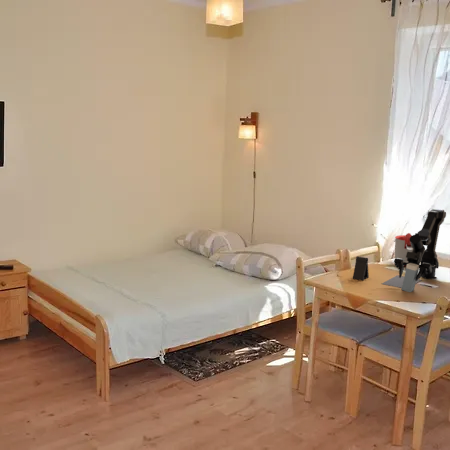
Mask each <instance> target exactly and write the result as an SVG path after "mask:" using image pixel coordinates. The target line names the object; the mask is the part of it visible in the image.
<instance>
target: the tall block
mask: <svg viewBox="0 0 450 450" xmlns="http://www.w3.org/2000/svg"><path fill="white" fill-rule="evenodd" d="M405 267H406V268H405V270H404V271H405V272H404V281H403V285H402V288H401V291H404V292H408V293H412V292H414V291H415V287H416V284H417V283H416V280H415V279H416V276H417V274H418V272H419V269H420V268H419V265H417V264H413V263H409V264H407V266H405ZM415 283H416V284H415Z"/></svg>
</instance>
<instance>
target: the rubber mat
mask: <svg viewBox="0 0 450 450" xmlns="http://www.w3.org/2000/svg"><path fill="white" fill-rule="evenodd" d="M404 276H405V275H404ZM404 276H403V275H402V276H401V278H399V275H398V274H397V275H394V276H393V277H392V278H389V279H388V280H386V281H384V282H381V285H385V286H388V287H389V286H390V287H394V288H400V289H402V285H403V281H404ZM420 282H422V279H421V278H419V279H418V280H417V281H416V283H415V285H416V284H418V283H420Z"/></svg>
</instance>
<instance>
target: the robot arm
mask: <svg viewBox="0 0 450 450" xmlns="http://www.w3.org/2000/svg"><path fill="white" fill-rule="evenodd" d="M446 217H447V212H446V211H445V209H439V208H431V209H429V210H428V211H427V215H426V218H425V221H424V223H423V225H422V228H421V229H420V230H419V231H417V232H416V233H415V234H413V235H412V236H411V237H410V239H409V240H410V243H411V246H412V248H413V250H412V252H407V254H406V258H407V261H408V262H404V261H403V259H400V258H396V259H395V258H394V260H393V263H394V265H395V267H396V268H397V269H398V274H399V278H401V276H403V273H404V271H405V267H406V266H407V264H409V263H413V264H417V265H419V269H418V274H417V276H416V279H415V280H416V281H417V280H418V279H421V278H424V279H427V280H430V279H431V280H432V279H438V278H437V277H436V269H439V266H440V263H439V260H438V254H437V252H436V249H437V248H436V247H437V244H438V237H439V233H440V228H441V225H442V224H443V223H444V222H445V219H446ZM425 246H426V247H425Z"/></svg>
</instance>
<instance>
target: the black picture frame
mask: <svg viewBox="0 0 450 450" xmlns="http://www.w3.org/2000/svg"><path fill="white" fill-rule="evenodd" d="M369 276H370V275H369V258H368V257H364V256H356V257H355V264H354V269H353V276H352V280H358V281H365V280H366V279H369Z"/></svg>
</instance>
